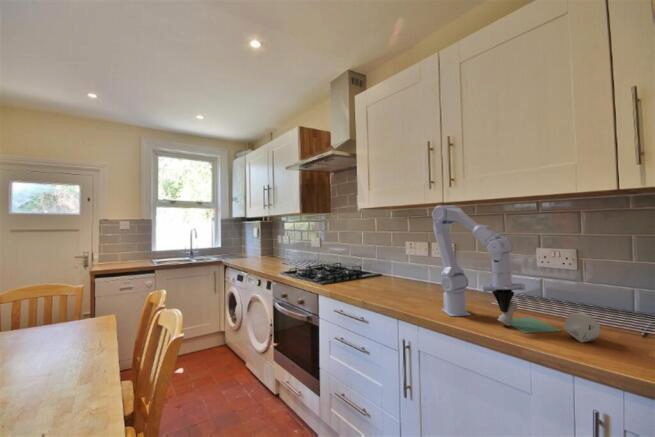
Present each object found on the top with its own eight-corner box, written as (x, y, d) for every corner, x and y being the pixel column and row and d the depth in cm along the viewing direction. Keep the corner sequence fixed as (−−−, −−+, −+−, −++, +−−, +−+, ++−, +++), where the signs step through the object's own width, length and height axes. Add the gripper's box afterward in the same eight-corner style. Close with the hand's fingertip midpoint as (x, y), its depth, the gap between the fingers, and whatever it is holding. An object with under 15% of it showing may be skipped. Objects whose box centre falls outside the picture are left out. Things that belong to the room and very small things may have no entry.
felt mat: (500, 319, 113) (500, 319, 113) (532, 318, 113) (532, 317, 113) (524, 333, 99) (524, 332, 99) (561, 331, 99) (561, 330, 99)
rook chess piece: (494, 318, 107) (504, 298, 108) (503, 323, 108) (513, 303, 109) (503, 323, 103) (514, 302, 103) (513, 328, 104) (523, 307, 104)
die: (561, 342, 92) (579, 322, 87) (555, 320, 99) (572, 301, 93) (591, 353, 90) (612, 334, 85) (583, 330, 97) (602, 311, 91)
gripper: (486, 275, 102) (489, 316, 102) (529, 273, 102) (532, 313, 102) (476, 272, 109) (478, 310, 109) (516, 270, 109) (519, 307, 109)
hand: (503, 311), depth 106 cm, fingers closed
